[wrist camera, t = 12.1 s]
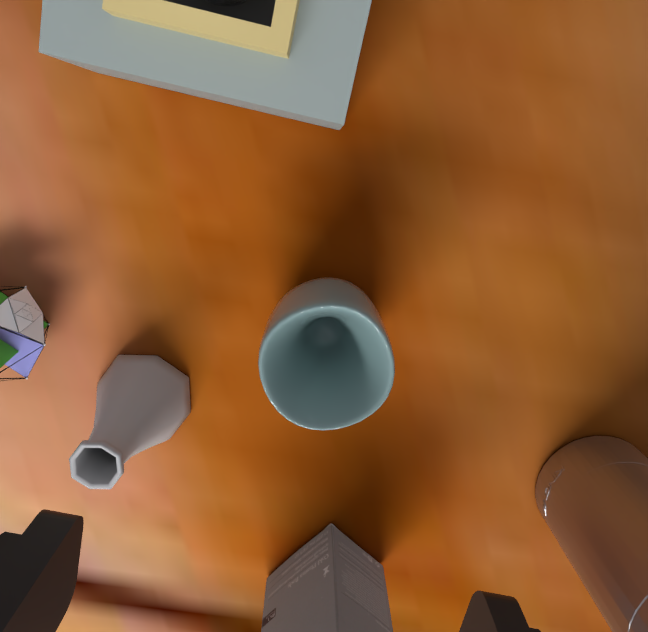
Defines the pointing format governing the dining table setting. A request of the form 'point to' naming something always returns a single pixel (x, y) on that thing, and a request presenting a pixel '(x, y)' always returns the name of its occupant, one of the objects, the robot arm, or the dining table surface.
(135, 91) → the dining table surface
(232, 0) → the spout can
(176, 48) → the box with square opening
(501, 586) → the dining table surface
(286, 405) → the cup
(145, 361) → the flask
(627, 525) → the robot arm
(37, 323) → the geometric puzzle
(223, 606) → the dining table surface
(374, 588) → the skincare box
